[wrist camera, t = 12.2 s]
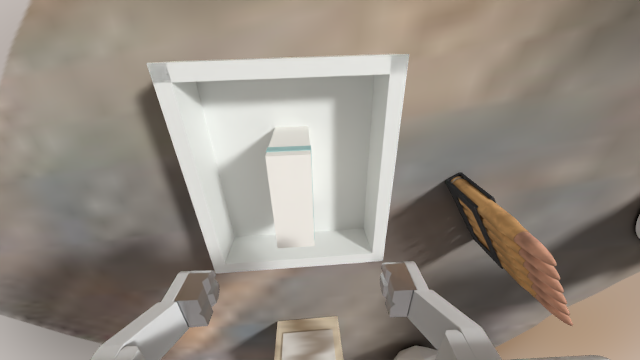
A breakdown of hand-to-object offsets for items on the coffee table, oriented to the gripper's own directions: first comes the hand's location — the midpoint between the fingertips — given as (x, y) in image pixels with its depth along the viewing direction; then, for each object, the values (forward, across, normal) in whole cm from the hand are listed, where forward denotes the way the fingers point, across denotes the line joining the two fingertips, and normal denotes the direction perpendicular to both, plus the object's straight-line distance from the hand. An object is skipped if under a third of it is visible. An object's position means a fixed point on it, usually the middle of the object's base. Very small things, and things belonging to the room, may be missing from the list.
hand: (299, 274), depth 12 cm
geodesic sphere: (+15, -17, +38) cm, 45 cm away
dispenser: (+14, +1, +29) cm, 32 cm away
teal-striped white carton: (+14, +1, 0) cm, 14 cm away
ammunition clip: (+15, -19, +7) cm, 25 cm away
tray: (+14, +1, 0) cm, 14 cm away
